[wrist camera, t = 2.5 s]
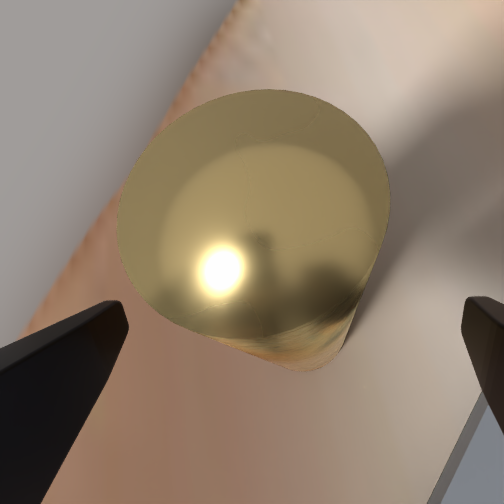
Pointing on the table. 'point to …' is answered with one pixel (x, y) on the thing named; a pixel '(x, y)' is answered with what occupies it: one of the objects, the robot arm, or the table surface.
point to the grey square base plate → (474, 463)
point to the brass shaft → (257, 224)
